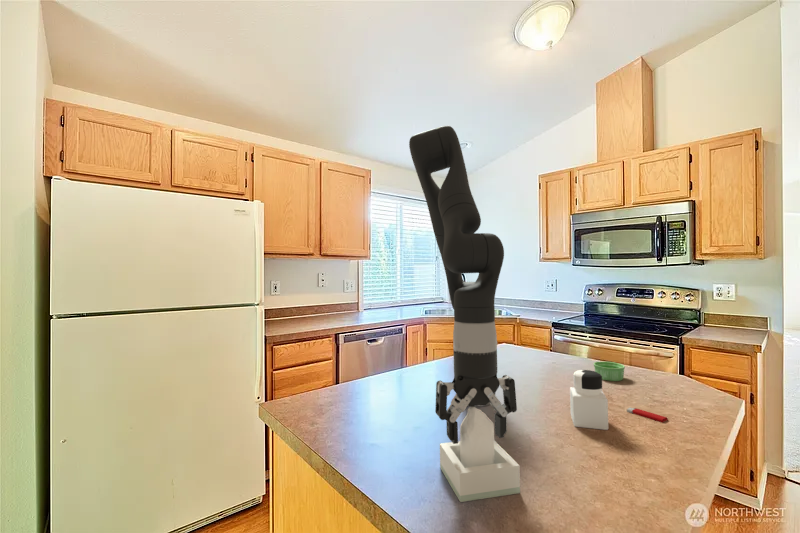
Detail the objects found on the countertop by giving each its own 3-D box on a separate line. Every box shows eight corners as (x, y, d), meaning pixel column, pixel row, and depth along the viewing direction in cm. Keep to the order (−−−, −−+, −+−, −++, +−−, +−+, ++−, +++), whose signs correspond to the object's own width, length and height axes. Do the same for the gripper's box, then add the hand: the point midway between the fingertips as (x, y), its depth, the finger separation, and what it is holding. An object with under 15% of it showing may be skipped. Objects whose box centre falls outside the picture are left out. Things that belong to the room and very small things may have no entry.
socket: (492, 460, 71) (491, 437, 71) (520, 493, 60) (519, 465, 60) (440, 467, 69) (439, 443, 69) (460, 502, 58) (459, 473, 58)
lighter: (661, 419, 86) (626, 408, 93) (661, 424, 86) (626, 413, 93) (667, 416, 88) (632, 406, 95) (667, 422, 88) (632, 411, 95)
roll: (495, 401, 66) (491, 413, 61) (496, 468, 66) (492, 485, 61) (462, 397, 68) (456, 408, 63) (463, 462, 68) (457, 478, 63)
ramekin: (631, 381, 117) (630, 368, 117) (602, 382, 117) (602, 368, 117) (615, 373, 126) (614, 361, 126) (588, 374, 126) (588, 361, 126)
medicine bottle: (602, 418, 89) (601, 369, 89) (608, 430, 83) (607, 377, 83) (570, 415, 92) (569, 367, 92) (573, 426, 85) (572, 374, 85)
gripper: (502, 340, 70) (504, 425, 70) (429, 344, 67) (431, 434, 67) (523, 348, 62) (525, 444, 62) (442, 353, 60) (444, 454, 59)
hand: (476, 438), depth 65 cm, fingers open, 8 cm apart
